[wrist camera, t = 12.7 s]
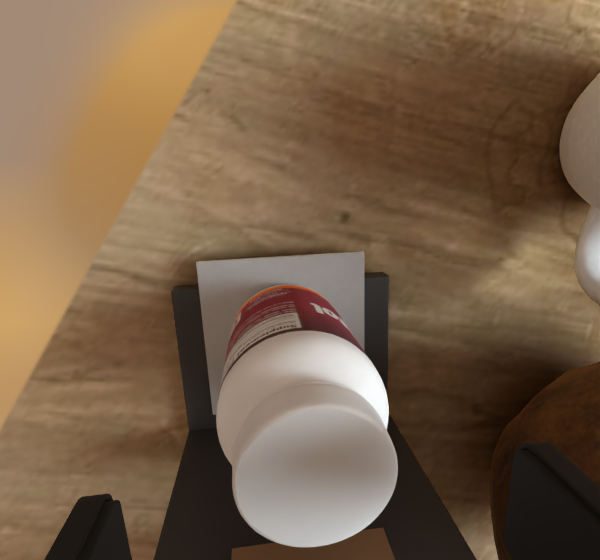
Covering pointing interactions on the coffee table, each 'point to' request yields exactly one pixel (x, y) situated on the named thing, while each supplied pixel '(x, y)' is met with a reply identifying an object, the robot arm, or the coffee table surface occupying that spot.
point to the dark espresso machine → (203, 430)
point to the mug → (585, 181)
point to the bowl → (550, 436)
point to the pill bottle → (303, 421)
